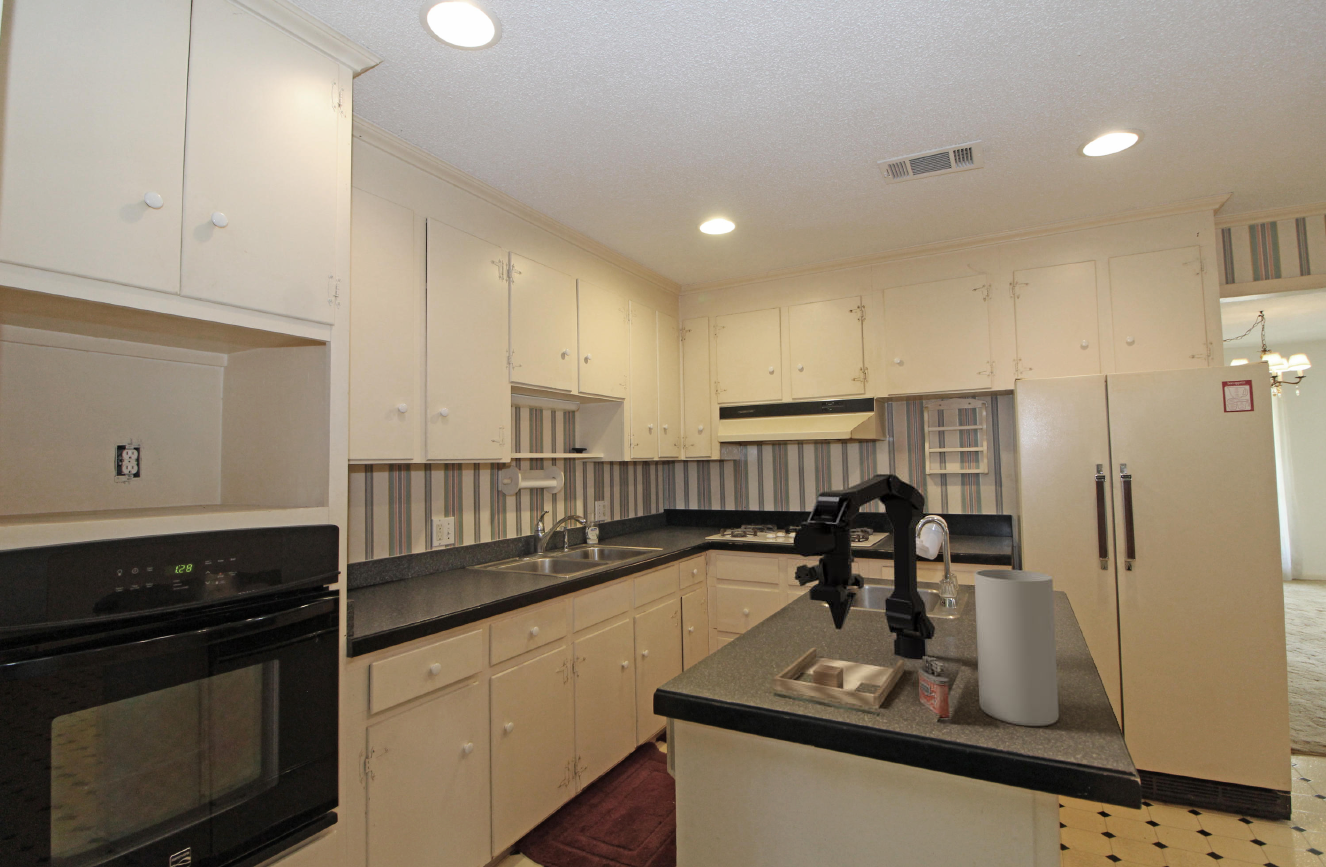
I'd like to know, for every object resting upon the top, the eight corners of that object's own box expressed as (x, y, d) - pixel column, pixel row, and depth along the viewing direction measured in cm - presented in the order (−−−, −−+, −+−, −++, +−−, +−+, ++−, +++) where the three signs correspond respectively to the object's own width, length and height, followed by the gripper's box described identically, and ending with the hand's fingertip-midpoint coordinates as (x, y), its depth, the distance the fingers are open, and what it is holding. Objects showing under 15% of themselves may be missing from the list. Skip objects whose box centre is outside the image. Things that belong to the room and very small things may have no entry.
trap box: (904, 677, 133) (904, 660, 133) (878, 716, 112) (877, 696, 113) (813, 663, 143) (812, 647, 144) (774, 696, 123) (773, 678, 123)
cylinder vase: (1002, 728, 107) (996, 581, 108) (967, 701, 119) (962, 569, 121) (1075, 727, 107) (1068, 580, 108) (1031, 700, 119) (1026, 568, 121)
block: (843, 691, 121) (842, 667, 121) (836, 698, 117) (836, 674, 118) (820, 687, 123) (820, 664, 124) (813, 694, 120) (813, 670, 120)
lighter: (914, 706, 117) (912, 652, 117) (931, 705, 117) (929, 651, 118) (936, 724, 109) (934, 666, 109) (955, 723, 109) (953, 665, 110)
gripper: (813, 545, 141) (815, 615, 140) (783, 555, 125) (785, 634, 124) (863, 548, 135) (865, 621, 134) (838, 559, 119) (841, 642, 118)
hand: (838, 628), depth 128 cm, fingers closed
